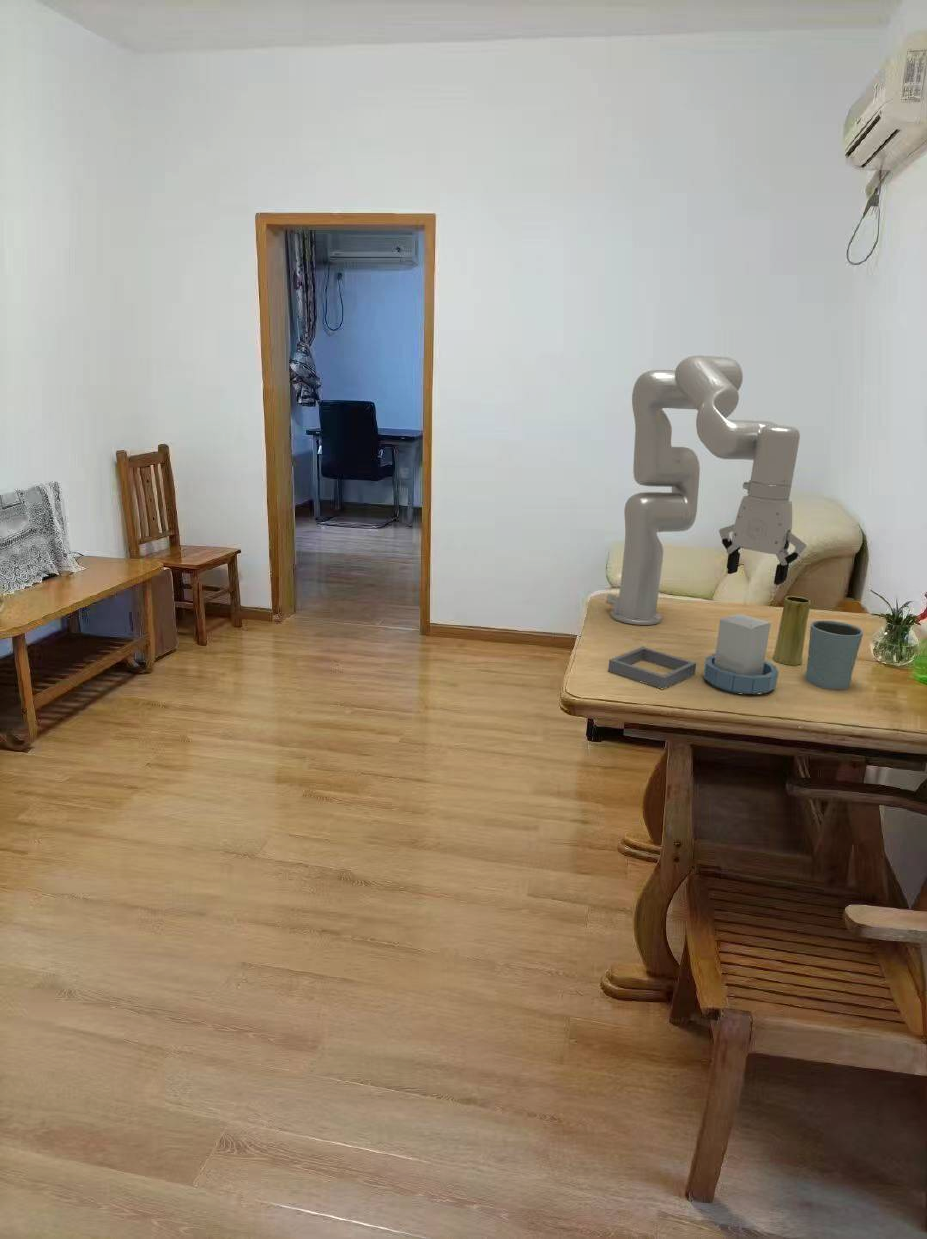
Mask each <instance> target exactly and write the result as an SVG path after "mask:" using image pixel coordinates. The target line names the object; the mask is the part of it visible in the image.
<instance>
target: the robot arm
mask: <svg viewBox="0 0 927 1239" xmlns="http://www.w3.org/2000/svg"><path fill="white" fill-rule="evenodd" d="M743 376H744V374H743V369H742V367H741V366H740V364H739V363H738V362H737V361H736V360H735V359H733V358H730V357H727V356H715V355H714V356H713V355H712V356H711V355H692V356H688V357H686V358H684V359H683V360H681V361H680V362H679V363H678V364H677V366H676V368H675V369H674V370H673V369H654V370H648V371H646V372H643V373H642V374H641V375H640V376H638V378H637V379H636V381H635V382H634V386H633V389H632V394H631V395H632V396H631V405H632V406H631V408H632V412H633V418H634V425H635V426H634V428H635V429H634V430H635V432H634V434H635V435H634V450H633V467H632V468H633V472H632V473H633V479H634V481H635V482H636V483H637V484H639V485H641V486H646V487H663V488H664V487H666V488H667V487H668V488H670V487H671V492H670V491H669V492H663V491H657V492H655V491H651V492H650V491H649V492H647V491H644V492H639V493H635V494H633V495H631V496H630V497H629V498H628V499H627V501H626V502H625V505H624V515H623V516H624V528H625V529H624V530H625V535H624V547H623V559H622V565H621V566H622V567H621V574H620V575H621V576H620V583H619V584H620V586H619V594H618V596H617V595H614V594H610V593H609V594H608V595H607V597H606V599H605V603H606V604H609V605H613V608H612V609H611V611H610V616H611V617H612V619H614V620H616V621H618V622H622V623H626V624H631V625H638V626H652V625H656V624H659V623H661V622H662V619H663V616H662V614H661V613H659V612H658V611H657V608H658V599H659V591H660V585H661V576H662V569H663V568H662V567H663V560H664V547H663V544H662V542H661V540H660V538H659V537H658V533H662V532H663V533H666V532H667V533H670V532H671V533H672V532H674V533H675V532H686V531H688V530H690V529H691V528H692V527H693V525H694V523H695V522H696V519H697V518H696V517H697V513H698V501H699V488H700V487H699V486H700V475H701V474H700V473H701V472H700V470H701V469H700V462H699V458H698V456H697V454H696V452H695V451H694V450H693V449H691V448H689V447H685V446H672V433H673V432H672V431H673V428H672V424H671V422H670V419H669V417H668V415H667V414H666V412H665V411H664V409H676V410H696V411H697V414H696V418H695V426H696V434H697V436H698V438H699V440H700V442H701V443H702V444H703V445H704V447H705V448H706V449H707V450H708V451H709V452H710V453H711V455H713V456H715V457H716V458H719V459H722V460H744V461H746V460H749V461H753V463H752V468H751V474H750V480H749V479H748V481H744V482H743V484H742V488H743V489H744V490H746V491H747V495H744V496H743V497H742V499H741V501H740V505H739V507H738V511H737V514H736V518H735V521H734V524H731V525H729V526H725V527H722V528H720V529H719V530H718V532H719V533H718V534H719V535H720V539H721V544H722V546H723V547H724V548H725V549H726V550H725V551H726V553H727V554H728V555H727V562H726V568H727V570H726V573H727V574H728V575H732V574H735V573H737V572H738V569H739V564H740V559H741V554H740V552H739V551H740V550H741V549H744V550H750V551H753V552H759V553H764V554H769V555H775V557H776V558H777V560H778V562H779V563H778V564H777V565H776V569H775V574H774V580H773V583H774V585H775V586H779V585H782V584H783V583H785V581H786V580H787V578H788V572H789V566H790V564H792V563H793V562H794V561H796V560H797V559H798V558H800V556H801V555H802V554H803V552H804V551H805V550H806V549H807V543H805V542H803V541H802V539H800V538H798V537H797V536H796V535H795V534H793V533H792V529H793V501H791V500H790V496H791V491H792V484H793V479H794V474H795V468H796V464H797V463H796V462H797V457H798V456H797V455H798V450H799V445H800V439H801V438H800V437H801V433H800V431H799V430H798V429H797V428H796V427H792V426H787V425H786V426H785V425H779V424H777V423H775V422H772V421H768V420H767V421H764V420H749V419H747V420H745V419H728V417H729V416H730V415H732V414H733V413H734V411H735V410H736V408H737V406H738V403H739V400H740V395H739V390H740V389H741V387H742V385H743ZM730 533H732V537H731V538H730ZM790 544H792V545H793V546H794V550H793V551H792V553H789V551H788V550H789V547H790Z"/></svg>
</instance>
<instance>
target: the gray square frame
mask: <svg viewBox="0 0 927 1239" xmlns="http://www.w3.org/2000/svg"><path fill="white" fill-rule="evenodd" d="M641 661H646V662H649V663H651V664H655V663H656V665H658V664H659V666H661V667H664V668H667V669H671V671H670V672H667V673H666V674H660V673H657V672H654V671H651V670H647V669H646V668H645V669H644V668H642V667H639V666H636V665H633V663H634V664H635V663H638V662H641ZM696 667H697V662H694V661H691V660H688V659H684V658H681V657H679V656H678V657H677V656H675V655H671V654H668V653H664V652H662V651H658V650H654V649H652V648H648V647H644V646H640V647H639V648H636V649H633V650H631V651H629V652H625V653H623V654H621V655H619V656H615V657H613V658H611V659H609V660H608V668H607V671H608V672H610V673H613V674H616V675H618V676H621V675H623V676H622V677H624V676H625V678H627V679H630V680H632V681H636V680H637V682H639V681H642V682H644V683H643V684H645V683H647V684H646V685H648V684H650V685H649V686H651V685H652V686H651V687H654V686H655V687H654V688H657V687H660V688H663V689H664V688H665V687H668V688H670V687H672V686H674V685H676V684H678V683H680V682H681V681H684V680H686V679H688V678H690V677H693V676H694V675H696V669H697V668H696ZM674 669H675V670H674ZM679 681H680V682H679ZM642 682H641V683H642ZM677 682H678V683H677ZM675 683H676V684H675ZM673 684H674V685H673ZM671 685H672V686H671ZM669 686H670V687H669ZM660 688H659V689H660ZM663 689H662V690H663ZM664 690H665V689H664Z"/></svg>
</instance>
